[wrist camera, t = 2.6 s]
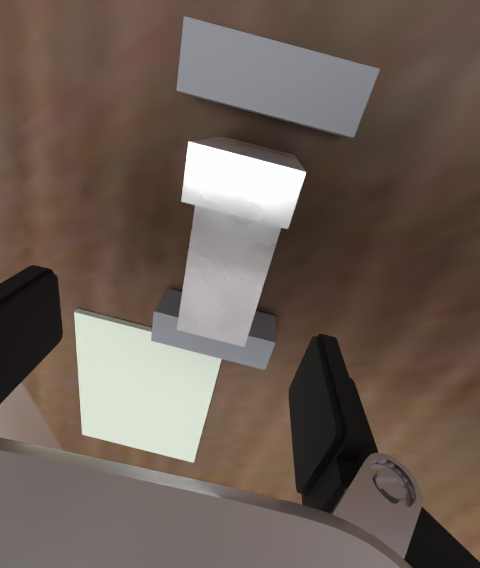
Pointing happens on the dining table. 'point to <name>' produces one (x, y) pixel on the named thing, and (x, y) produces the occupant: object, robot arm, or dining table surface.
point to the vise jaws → (271, 103)
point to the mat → (141, 387)
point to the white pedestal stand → (233, 231)
